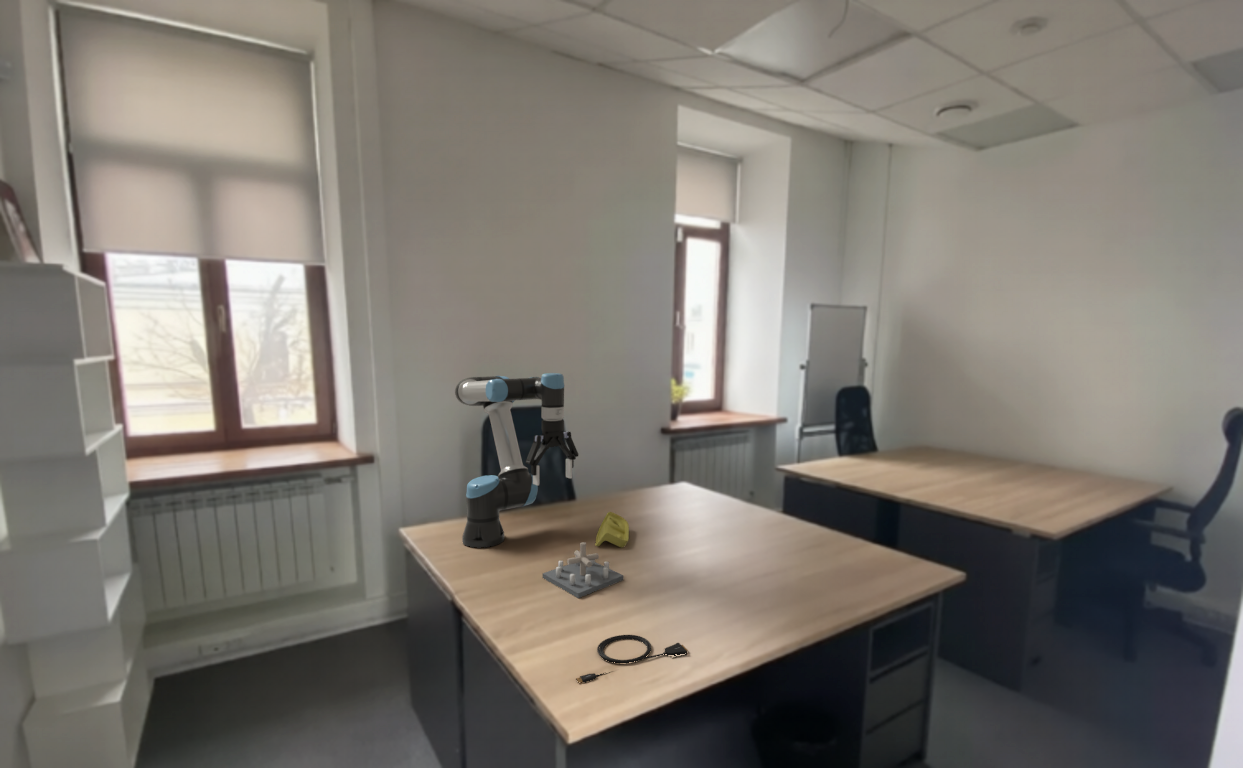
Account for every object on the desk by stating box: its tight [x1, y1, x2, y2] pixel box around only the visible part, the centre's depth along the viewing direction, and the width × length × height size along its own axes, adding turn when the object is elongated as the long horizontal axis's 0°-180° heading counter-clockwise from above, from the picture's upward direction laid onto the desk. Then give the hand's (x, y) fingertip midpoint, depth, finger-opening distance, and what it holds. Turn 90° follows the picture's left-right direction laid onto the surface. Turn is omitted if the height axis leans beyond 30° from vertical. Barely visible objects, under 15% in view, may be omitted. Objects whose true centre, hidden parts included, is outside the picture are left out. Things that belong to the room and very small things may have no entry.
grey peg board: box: [542, 560, 624, 599], centre depth 169 cm, size 18×18×4 cm
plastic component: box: [594, 511, 630, 548], centre depth 205 cm, size 20×7×10 cm
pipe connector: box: [566, 541, 600, 576], centre depth 169 cm, size 10×10×10 cm
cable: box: [575, 634, 689, 684], centre depth 130 cm, size 14×28×2 cm, turn 114°
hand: (552, 481), depth 184 cm, fingers open, 13 cm apart
